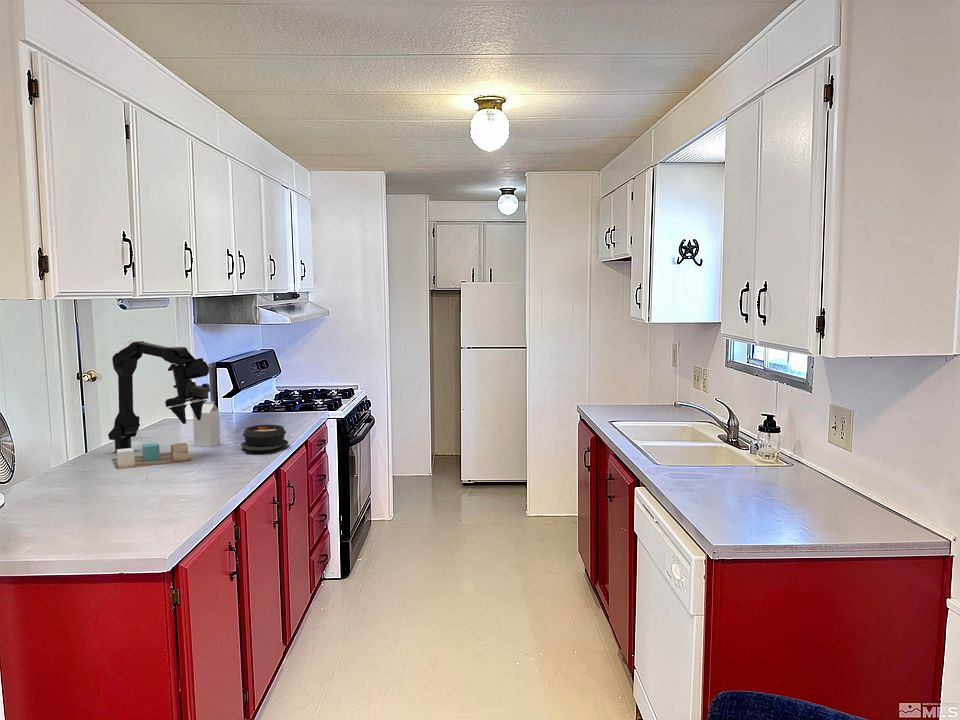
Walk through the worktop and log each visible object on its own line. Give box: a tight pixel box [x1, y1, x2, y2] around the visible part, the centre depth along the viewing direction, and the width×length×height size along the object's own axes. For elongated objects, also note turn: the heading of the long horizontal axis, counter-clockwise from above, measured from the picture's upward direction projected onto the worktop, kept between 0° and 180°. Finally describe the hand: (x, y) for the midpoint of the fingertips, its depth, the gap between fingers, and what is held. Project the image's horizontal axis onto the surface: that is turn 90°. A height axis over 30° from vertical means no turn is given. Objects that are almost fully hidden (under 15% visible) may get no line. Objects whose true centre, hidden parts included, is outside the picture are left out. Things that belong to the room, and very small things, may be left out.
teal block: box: [141, 442, 160, 461], centre depth 264 cm, size 5×5×6 cm
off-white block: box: [116, 447, 135, 468], centre depth 255 cm, size 5×5×6 cm
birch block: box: [170, 442, 189, 461], centre depth 264 cm, size 5×5×6 cm
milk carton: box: [192, 400, 221, 448], centre depth 288 cm, size 7×7×19 cm
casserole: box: [240, 424, 289, 452], centre depth 290 cm, size 25×19×8 cm
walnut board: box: [110, 452, 193, 470], centre depth 263 cm, size 18×25×1 cm
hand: (192, 422), depth 265 cm, fingers open, 9 cm apart
